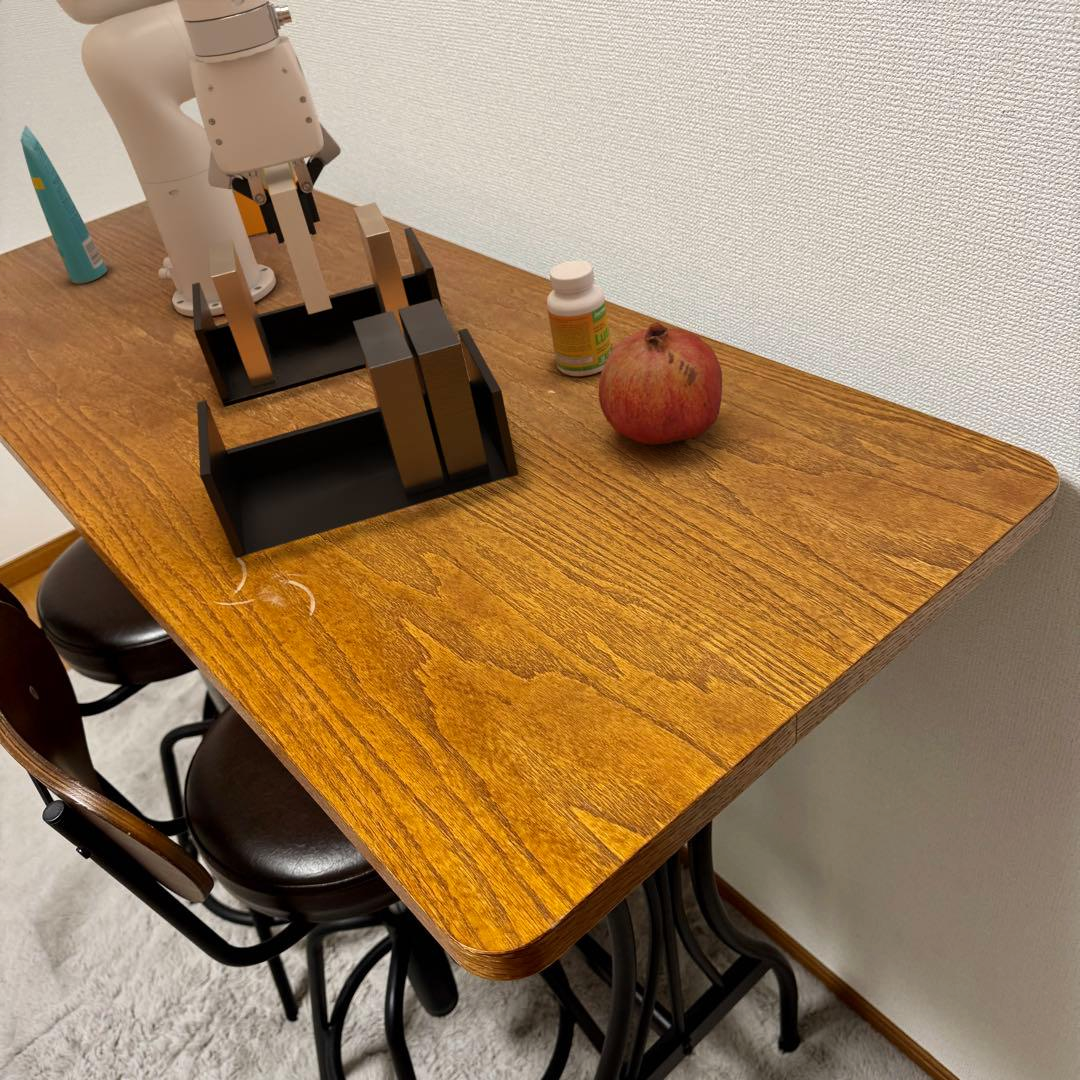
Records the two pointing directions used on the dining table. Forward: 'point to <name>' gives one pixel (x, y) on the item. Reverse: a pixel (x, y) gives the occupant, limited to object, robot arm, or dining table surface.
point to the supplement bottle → (578, 319)
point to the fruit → (661, 386)
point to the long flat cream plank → (297, 238)
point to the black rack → (368, 440)
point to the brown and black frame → (302, 319)
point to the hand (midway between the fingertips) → (296, 233)
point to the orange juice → (255, 206)
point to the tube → (62, 215)
